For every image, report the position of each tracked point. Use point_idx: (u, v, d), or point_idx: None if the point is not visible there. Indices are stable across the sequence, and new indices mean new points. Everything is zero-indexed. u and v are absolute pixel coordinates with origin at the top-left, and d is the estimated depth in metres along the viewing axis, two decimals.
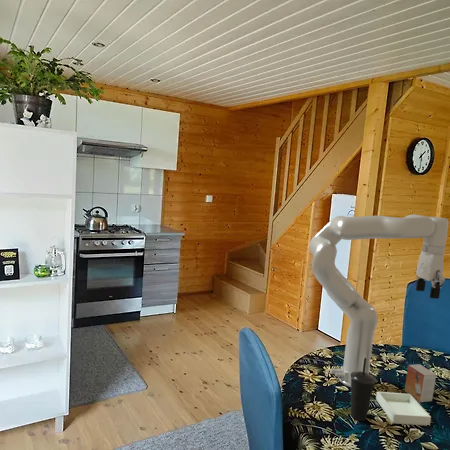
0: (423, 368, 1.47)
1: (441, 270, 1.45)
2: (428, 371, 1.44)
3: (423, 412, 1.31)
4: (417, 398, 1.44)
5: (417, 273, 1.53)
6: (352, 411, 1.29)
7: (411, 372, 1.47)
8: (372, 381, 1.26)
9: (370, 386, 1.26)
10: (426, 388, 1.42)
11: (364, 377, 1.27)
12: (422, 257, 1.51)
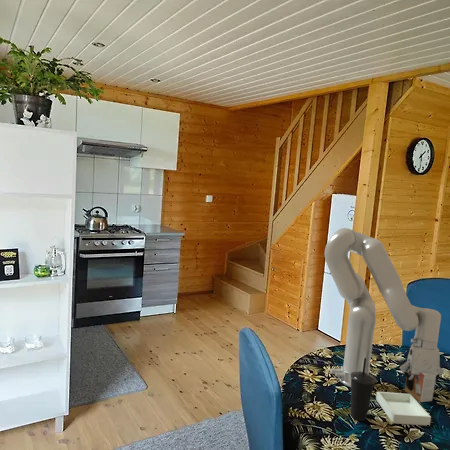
0: None
1: None
2: None
3: (423, 412, 1.31)
4: (417, 398, 1.44)
5: (416, 372, 1.43)
6: (352, 411, 1.29)
7: None
8: (372, 381, 1.26)
9: (370, 386, 1.26)
10: (426, 388, 1.42)
11: (364, 377, 1.27)
12: (423, 354, 1.42)
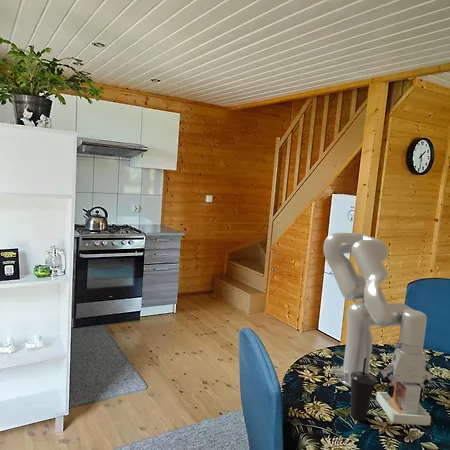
0: None
1: None
2: (413, 384, 1.32)
3: (423, 412, 1.31)
4: (399, 412, 1.32)
5: (399, 379, 1.31)
6: (352, 411, 1.29)
7: (395, 384, 1.35)
8: (372, 381, 1.26)
9: (370, 386, 1.26)
10: (409, 402, 1.31)
11: (364, 377, 1.27)
12: (408, 360, 1.30)
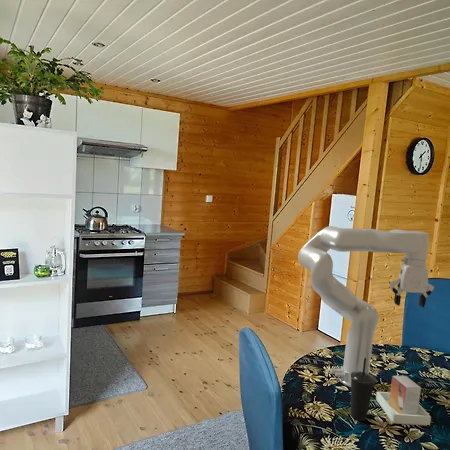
0: (408, 380, 1.35)
1: None
2: (413, 384, 1.33)
3: (423, 412, 1.31)
4: (399, 412, 1.32)
5: (405, 289, 1.53)
6: (352, 411, 1.29)
7: (395, 384, 1.35)
8: (372, 381, 1.26)
9: (370, 386, 1.26)
10: (409, 402, 1.31)
11: (364, 377, 1.27)
12: (413, 272, 1.52)
